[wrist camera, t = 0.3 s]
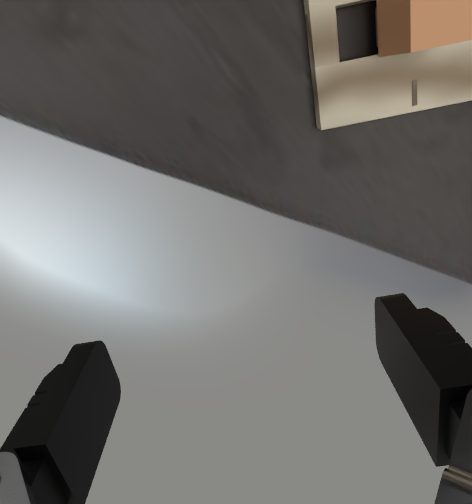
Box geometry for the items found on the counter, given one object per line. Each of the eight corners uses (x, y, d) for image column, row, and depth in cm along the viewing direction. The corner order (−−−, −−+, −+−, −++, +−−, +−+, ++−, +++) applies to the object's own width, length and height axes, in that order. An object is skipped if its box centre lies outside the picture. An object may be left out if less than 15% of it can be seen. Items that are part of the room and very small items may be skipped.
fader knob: (364, -1, 31) (410, -29, 23) (420, -14, 31) (485, -45, 23) (367, 59, 33) (410, 52, 25) (420, 48, 33) (480, 37, 25)
